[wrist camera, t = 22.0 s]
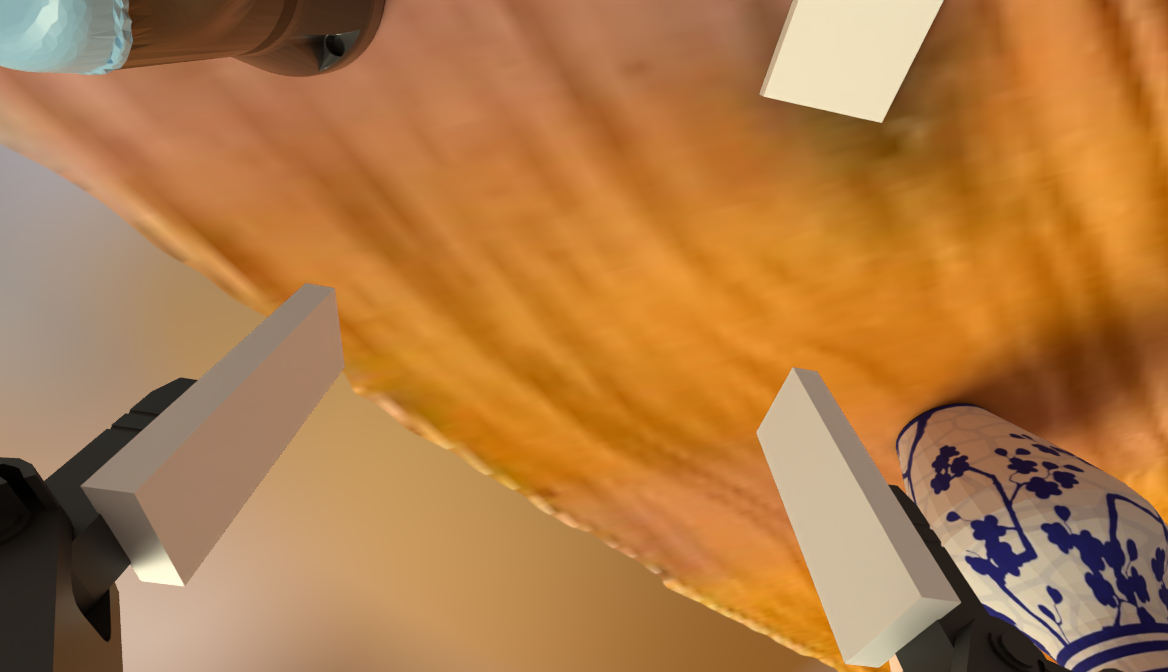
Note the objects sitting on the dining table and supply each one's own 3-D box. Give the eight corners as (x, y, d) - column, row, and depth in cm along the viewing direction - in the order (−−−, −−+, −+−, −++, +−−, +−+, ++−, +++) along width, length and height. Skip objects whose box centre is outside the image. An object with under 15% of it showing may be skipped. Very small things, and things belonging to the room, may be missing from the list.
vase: (874, 386, 54) (1107, 696, 30) (1055, 366, 52) (1471, 683, 27) (851, 491, 65) (1010, 785, 40) (1001, 478, 63) (1268, 781, 38)
